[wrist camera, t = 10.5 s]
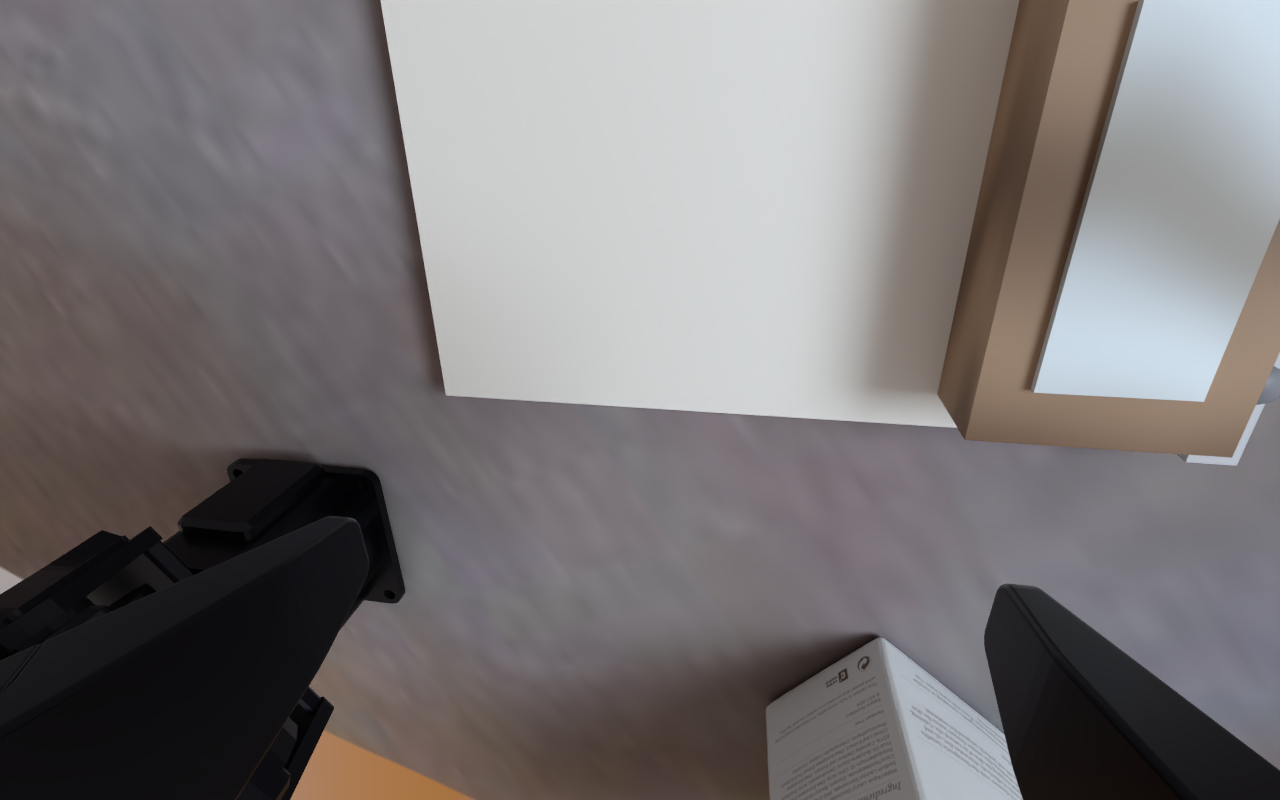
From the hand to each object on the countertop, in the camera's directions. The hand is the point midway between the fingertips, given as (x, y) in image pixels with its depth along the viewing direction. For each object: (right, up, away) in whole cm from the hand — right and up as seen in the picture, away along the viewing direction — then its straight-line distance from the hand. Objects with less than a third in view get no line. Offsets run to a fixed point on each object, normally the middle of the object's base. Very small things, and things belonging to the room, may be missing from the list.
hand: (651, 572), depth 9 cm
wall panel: (+5, +8, +9) cm, 13 cm away
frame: (+12, +7, +7) cm, 15 cm away
